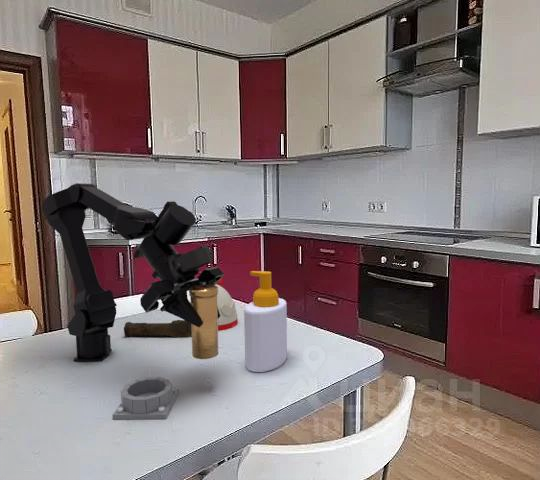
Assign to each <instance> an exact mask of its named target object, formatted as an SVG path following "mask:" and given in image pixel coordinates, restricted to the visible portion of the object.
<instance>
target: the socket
mask: <svg viewBox="0 0 540 480" xmlns="http://www.w3.org/2000/svg"><path fill="white" fill-rule="evenodd" d="M179 393H180V392H179V388H175V387H173V384H172V382H171V380H170V379H168V378H165V377H161V376H158V377H157V376H152V377H151V376H148V377H144V378H139V379H135V380H132V381H131V382H129V383H127V384H125V385H124V386H123V387H122V389H121V390H120V400H121V401H120V402H121V403H119V405H118V407H117V408H116V409H115V411H114V412H113V414H112V420H166V419H167V418H168V416H169V415H170V411H171V410H172V407H173V406H174V404H175V402H176V399H177V398H178V396H179Z"/></svg>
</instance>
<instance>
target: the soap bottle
mask: <svg viewBox="0 0 540 480" xmlns="http://www.w3.org/2000/svg"><path fill="white" fill-rule="evenodd" d="M249 274H250V276H252V277H259V288H257V289H256V290H255V291H254V292H253V295H252V300H253V301H251V302H250V303H248V304H246V305H245V307H244V310H243V317H244V319H243V320H244V323H243V324H244V325H243V326H244V328H243V329H244V364H245V367H246V369H247V370H248V371H250V372H251V373H263V372H264V373H265V372H269V371H271V370H274V369H277V368H279V367H280V366H282V365H284V363H285V361H286V360H287V357H288V338H287V336H288V333H287V331H288V328H287V327H288V322H287V316H288V315H287V314H288V313H287V308H288V307H287V305H288V304H287V301H286V300H285V299H283V298H280V297H279V294H278V292H277V290H276V289H275V288H273V287H272V271H268V270H267V271H264V270H263V271H260V270H257V271H256V270H252V271H250V273H249Z"/></svg>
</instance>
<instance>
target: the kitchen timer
mask: <svg viewBox="0 0 540 480" xmlns="http://www.w3.org/2000/svg"><path fill="white" fill-rule="evenodd" d="M223 282H224V279H223V278H221V279H220V280H219V282H218V283H217V284H216V285H215V286H217V287H218V295H217V306H218V310H219V313H220V317H219V319H218V332H220V331H227V330H229V329H233V328H234V327H236V326H237V325H238V320H239V319H238V313H237V309H236V302H235V301H234V300H233V298H232V296H231V295H230V293H229V292H228V291H227V290H226V289H225V288H224V287H223Z"/></svg>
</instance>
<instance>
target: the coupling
mask: <svg viewBox="0 0 540 480" xmlns="http://www.w3.org/2000/svg"><path fill="white" fill-rule="evenodd" d="M217 295H218V287H217V286H215V285H197V286H192V287H190V288H189V291H188V296H189V298H190V300H189V301H190V303H191V305H192V306H193V308H194V309H195V311H196V312H197V314H198V315H199V317H200V319H201V321H202V323H203V325H202V326H201V327H197V326H195V325H193V324H191V330H192V336H191V353H192V354H191V355H192V358H194V359H199V360H208V359H213V358H216V357H217V356H219V353H220V352H219V331H218V312H217Z"/></svg>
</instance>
